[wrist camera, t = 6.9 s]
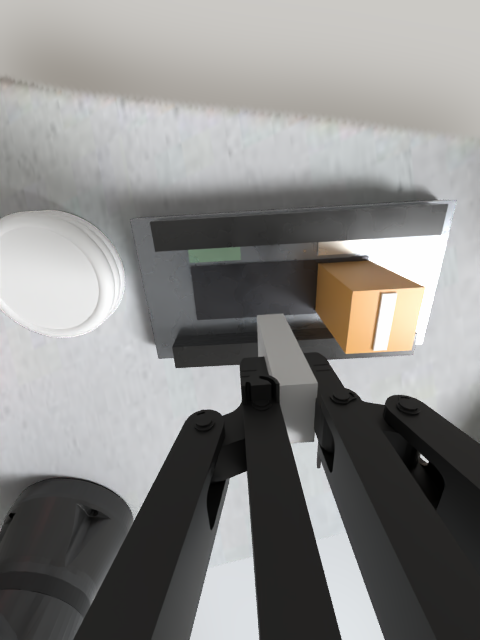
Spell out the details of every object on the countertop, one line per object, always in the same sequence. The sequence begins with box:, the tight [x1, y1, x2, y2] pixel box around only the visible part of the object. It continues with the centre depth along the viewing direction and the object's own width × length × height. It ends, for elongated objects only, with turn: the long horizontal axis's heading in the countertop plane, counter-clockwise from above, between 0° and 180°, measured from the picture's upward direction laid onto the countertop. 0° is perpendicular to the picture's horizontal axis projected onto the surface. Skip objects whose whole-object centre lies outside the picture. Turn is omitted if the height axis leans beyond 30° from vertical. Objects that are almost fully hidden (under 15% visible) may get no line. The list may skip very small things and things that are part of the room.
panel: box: [130, 200, 457, 368], centre depth 23 cm, size 24×12×4 cm, turn 93°
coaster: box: [0, 210, 125, 338], centre depth 23 cm, size 10×10×4 cm
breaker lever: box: [315, 261, 426, 354], centre depth 19 cm, size 4×4×7 cm
